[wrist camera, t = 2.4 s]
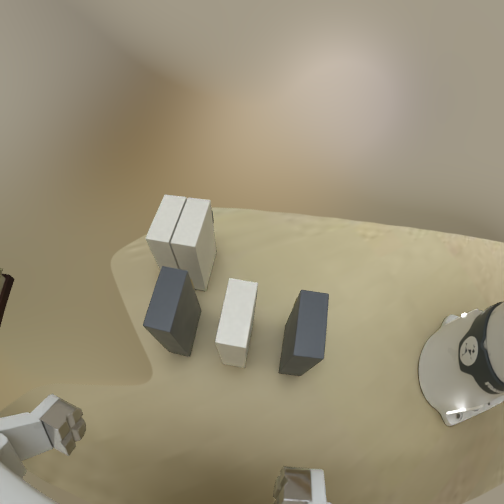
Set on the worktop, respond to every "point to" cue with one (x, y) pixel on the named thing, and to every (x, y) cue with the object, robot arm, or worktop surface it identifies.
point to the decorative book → (4, 291)
